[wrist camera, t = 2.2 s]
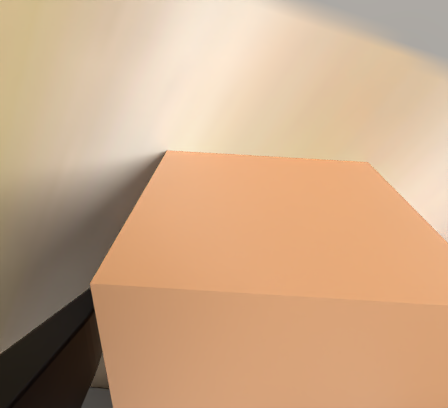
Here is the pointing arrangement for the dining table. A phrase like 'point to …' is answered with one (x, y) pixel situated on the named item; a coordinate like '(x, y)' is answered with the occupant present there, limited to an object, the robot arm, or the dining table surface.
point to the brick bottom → (273, 289)
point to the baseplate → (98, 398)
